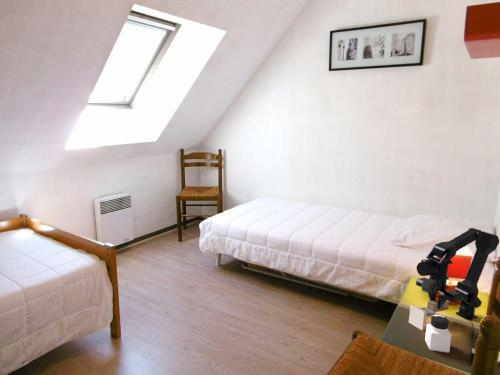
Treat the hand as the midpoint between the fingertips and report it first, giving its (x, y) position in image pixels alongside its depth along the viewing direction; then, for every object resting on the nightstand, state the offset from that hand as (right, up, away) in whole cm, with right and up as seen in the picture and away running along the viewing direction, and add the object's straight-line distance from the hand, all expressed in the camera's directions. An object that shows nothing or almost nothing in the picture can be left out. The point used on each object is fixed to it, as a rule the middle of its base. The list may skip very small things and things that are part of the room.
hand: (435, 307), depth 160 cm
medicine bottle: (-9, -9, -18) cm, 22 cm away
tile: (-10, -7, -3) cm, 12 cm away
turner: (-1, -1, 0) cm, 2 cm away
